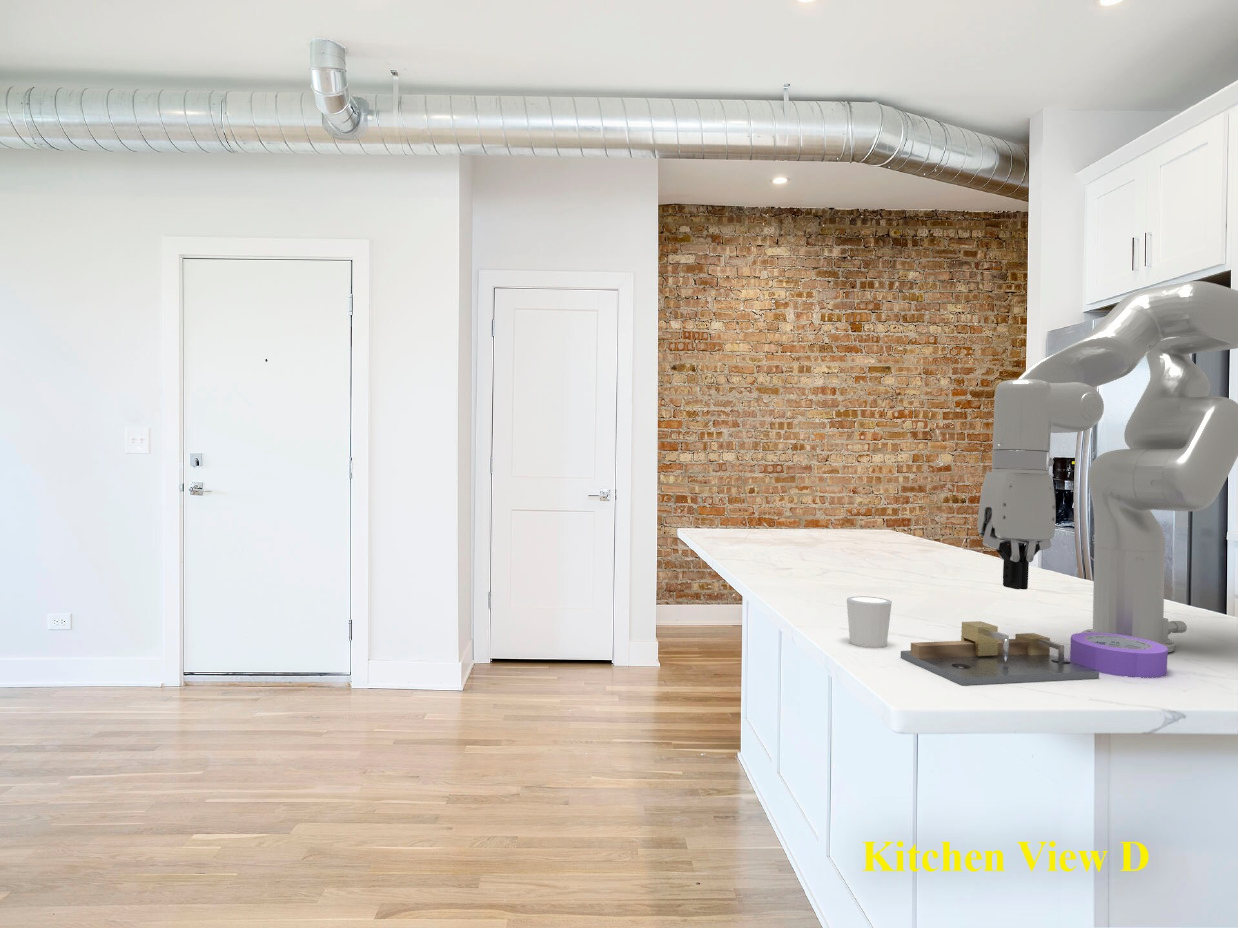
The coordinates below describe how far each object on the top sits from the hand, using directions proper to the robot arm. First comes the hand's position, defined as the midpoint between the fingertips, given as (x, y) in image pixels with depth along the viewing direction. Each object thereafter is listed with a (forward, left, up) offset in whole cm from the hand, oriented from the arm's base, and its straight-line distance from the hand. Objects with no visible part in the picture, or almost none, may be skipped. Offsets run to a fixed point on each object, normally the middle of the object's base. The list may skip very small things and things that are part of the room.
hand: (1015, 587), depth 112 cm
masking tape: (-13, +5, -11) cm, 18 cm away
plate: (+6, +3, -11) cm, 13 cm away
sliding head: (+6, +2, -9) cm, 11 cm away
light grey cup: (+16, -13, -11) cm, 23 cm away
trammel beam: (+6, +2, -10) cm, 11 cm away
